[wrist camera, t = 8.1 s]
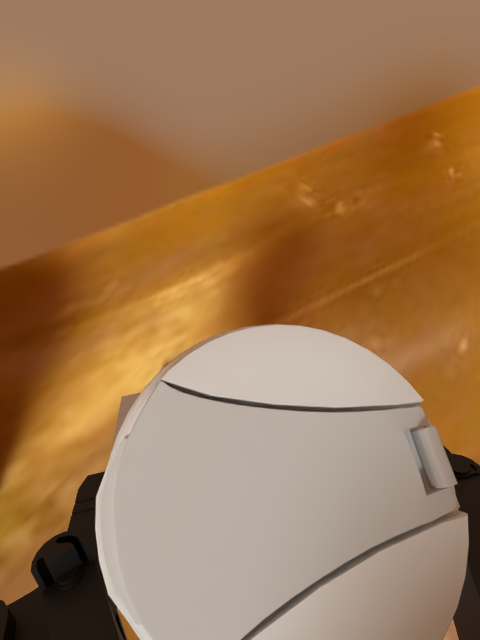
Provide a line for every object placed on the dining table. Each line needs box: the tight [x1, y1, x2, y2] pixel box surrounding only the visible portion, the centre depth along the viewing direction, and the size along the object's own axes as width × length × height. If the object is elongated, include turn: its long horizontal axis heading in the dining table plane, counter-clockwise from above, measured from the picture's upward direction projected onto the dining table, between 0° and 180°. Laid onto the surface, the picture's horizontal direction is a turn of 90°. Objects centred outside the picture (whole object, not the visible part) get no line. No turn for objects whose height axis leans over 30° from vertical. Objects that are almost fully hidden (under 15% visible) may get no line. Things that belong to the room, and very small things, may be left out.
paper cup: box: [95, 324, 469, 640], centre depth 13 cm, size 8×8×14 cm
